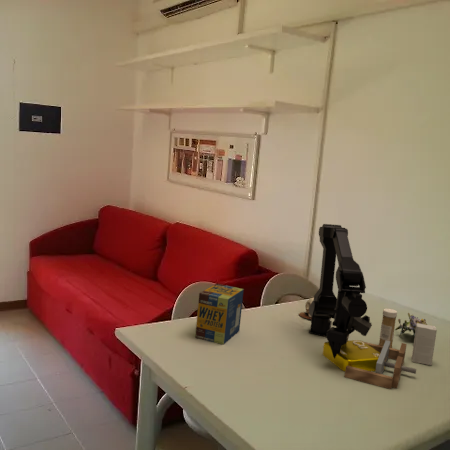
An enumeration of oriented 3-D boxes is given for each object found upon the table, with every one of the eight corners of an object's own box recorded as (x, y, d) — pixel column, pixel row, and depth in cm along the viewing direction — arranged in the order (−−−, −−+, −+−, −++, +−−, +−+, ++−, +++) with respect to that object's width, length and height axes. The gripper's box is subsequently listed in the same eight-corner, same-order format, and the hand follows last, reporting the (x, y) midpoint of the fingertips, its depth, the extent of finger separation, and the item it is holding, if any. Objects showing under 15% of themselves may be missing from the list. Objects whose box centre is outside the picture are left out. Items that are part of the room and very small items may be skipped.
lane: (344, 376, 144) (347, 357, 143) (359, 349, 167) (361, 332, 166) (396, 390, 138) (399, 370, 138) (404, 360, 161) (407, 342, 160)
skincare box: (430, 361, 162) (436, 326, 161) (431, 366, 158) (437, 330, 157) (411, 357, 164) (416, 322, 162) (411, 361, 160) (416, 326, 158)
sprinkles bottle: (394, 349, 170) (400, 311, 168) (386, 351, 167) (391, 313, 166) (383, 344, 174) (389, 307, 172) (375, 346, 171) (380, 308, 169)
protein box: (194, 338, 164) (198, 292, 161) (213, 324, 178) (216, 283, 176) (223, 345, 160) (228, 299, 158) (240, 331, 174) (244, 288, 172)
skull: (336, 320, 192) (321, 300, 190) (314, 336, 193) (299, 316, 191) (327, 309, 204) (313, 290, 202) (307, 324, 204) (292, 306, 202)
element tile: (319, 354, 161) (321, 340, 160) (358, 351, 166) (360, 338, 165) (346, 374, 147) (348, 359, 146) (387, 371, 152) (389, 356, 151)
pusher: (374, 381, 143) (376, 363, 142) (383, 356, 162) (385, 340, 161) (412, 391, 138) (415, 372, 138) (417, 364, 158) (420, 348, 157)
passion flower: (418, 356, 180) (426, 338, 171) (388, 344, 184) (394, 325, 176) (426, 333, 186) (434, 314, 178) (397, 322, 191) (404, 303, 182)
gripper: (366, 320, 143) (359, 371, 145) (376, 305, 160) (369, 350, 162) (328, 311, 148) (322, 361, 150) (341, 297, 164) (335, 342, 167)
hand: (339, 353), depth 157 cm, fingers open, 9 cm apart
